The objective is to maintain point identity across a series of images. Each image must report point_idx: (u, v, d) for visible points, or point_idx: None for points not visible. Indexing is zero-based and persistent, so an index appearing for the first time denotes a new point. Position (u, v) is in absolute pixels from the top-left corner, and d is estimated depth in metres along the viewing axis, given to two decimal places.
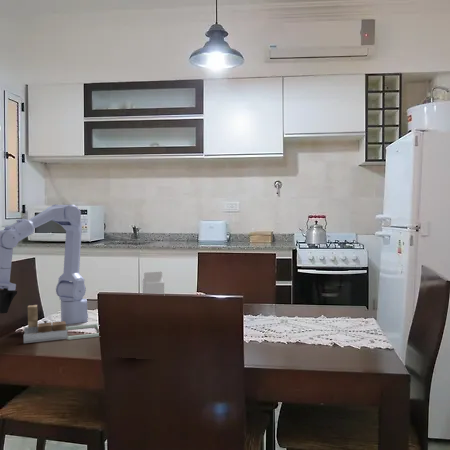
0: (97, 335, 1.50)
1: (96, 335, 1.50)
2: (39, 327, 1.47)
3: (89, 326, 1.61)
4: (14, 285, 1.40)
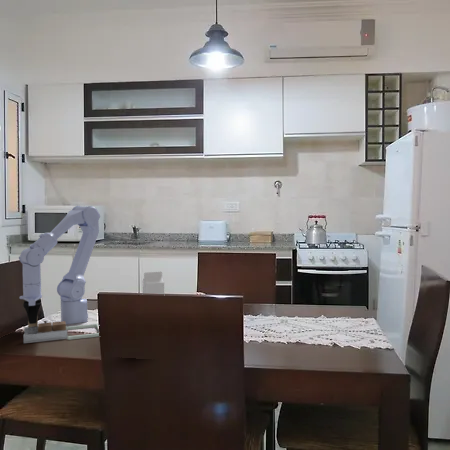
0: (97, 335, 1.50)
1: (96, 335, 1.50)
2: (39, 327, 1.47)
3: (89, 326, 1.61)
4: (33, 301, 1.51)
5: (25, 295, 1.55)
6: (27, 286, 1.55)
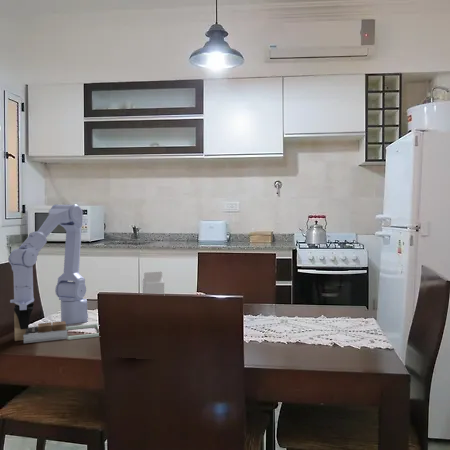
0: (97, 335, 1.50)
1: (96, 335, 1.50)
2: (39, 327, 1.47)
3: (89, 326, 1.61)
4: (24, 305, 1.40)
5: (16, 299, 1.44)
6: (18, 289, 1.44)
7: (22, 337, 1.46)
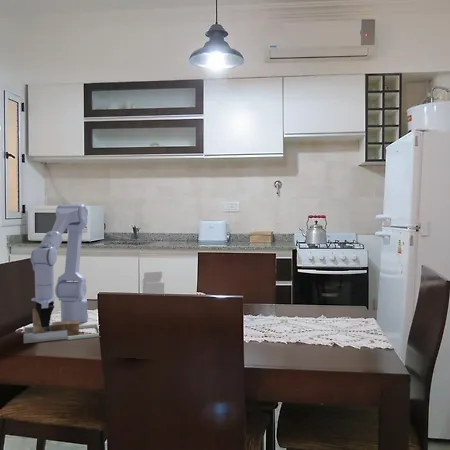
0: (97, 335, 1.50)
1: (96, 335, 1.50)
2: (53, 326, 1.49)
3: (89, 326, 1.61)
4: (46, 303, 1.43)
5: (37, 297, 1.47)
6: (39, 287, 1.46)
7: None
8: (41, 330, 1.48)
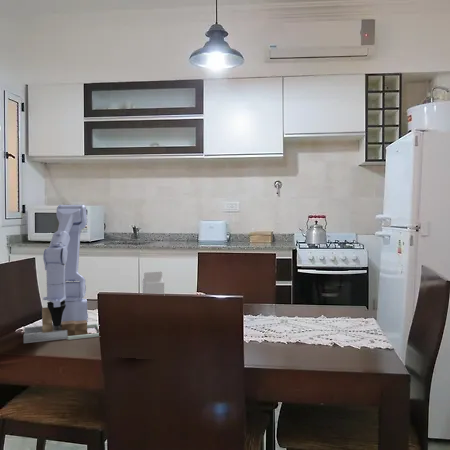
0: (97, 335, 1.50)
1: (96, 335, 1.50)
2: (63, 325, 1.50)
3: (89, 326, 1.61)
4: (58, 302, 1.44)
5: (49, 296, 1.48)
6: (51, 287, 1.48)
7: None
8: (50, 329, 1.49)
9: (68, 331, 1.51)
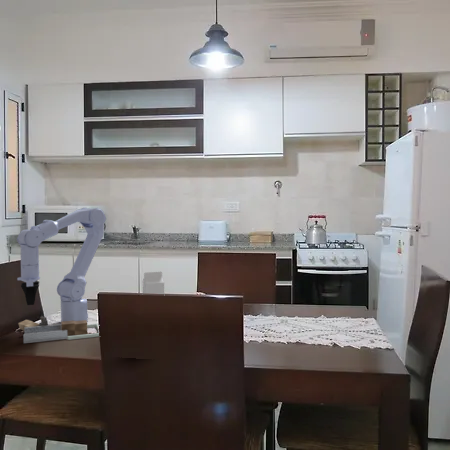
0: (97, 335, 1.50)
1: (96, 335, 1.50)
2: (63, 325, 1.50)
3: (89, 326, 1.61)
4: (31, 281, 1.50)
5: (23, 276, 1.54)
6: (25, 267, 1.54)
7: (36, 324, 1.55)
8: (34, 323, 1.57)
9: (68, 331, 1.51)
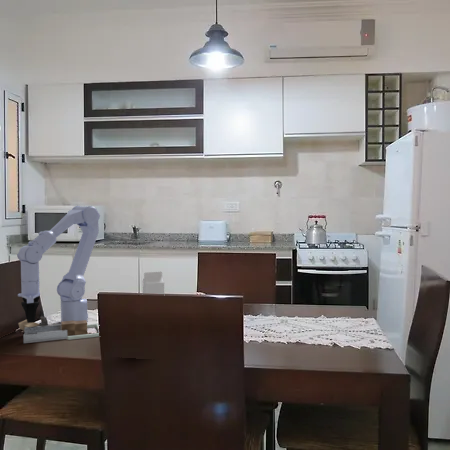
0: (97, 335, 1.50)
1: (96, 335, 1.50)
2: (63, 325, 1.50)
3: (89, 326, 1.61)
4: (31, 298, 1.50)
5: (23, 292, 1.54)
6: (25, 283, 1.54)
7: (36, 324, 1.55)
8: (34, 323, 1.57)
9: (68, 331, 1.51)
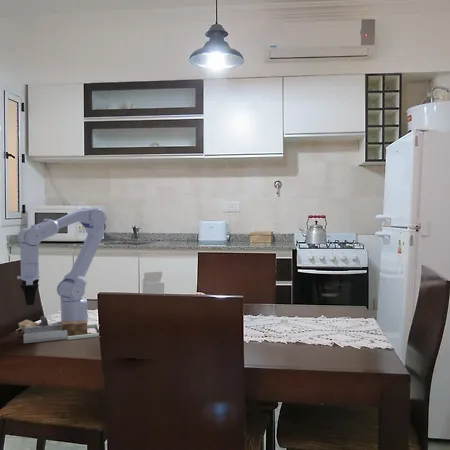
0: (97, 335, 1.50)
1: (96, 335, 1.50)
2: (63, 325, 1.50)
3: (89, 326, 1.61)
4: (31, 280, 1.50)
5: (23, 275, 1.54)
6: (25, 266, 1.54)
7: (36, 324, 1.55)
8: (34, 323, 1.57)
9: (68, 331, 1.51)
